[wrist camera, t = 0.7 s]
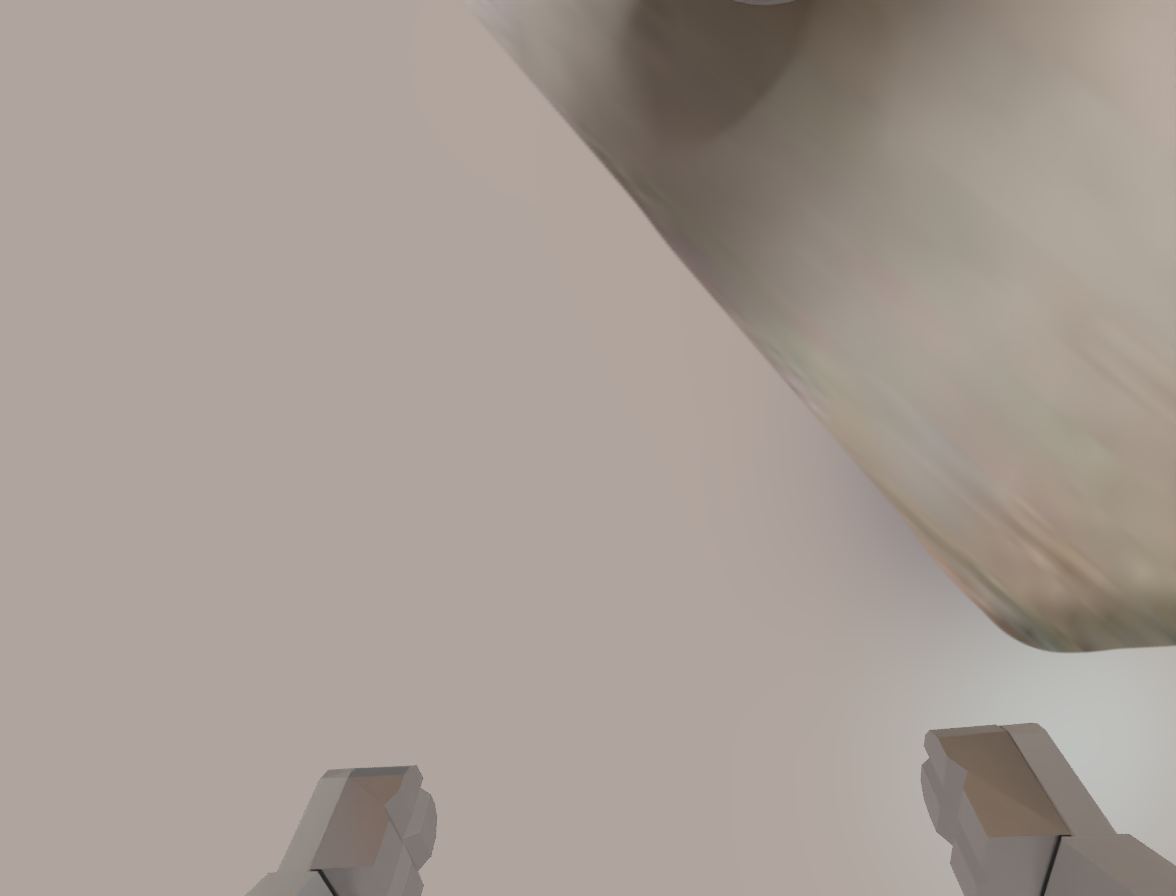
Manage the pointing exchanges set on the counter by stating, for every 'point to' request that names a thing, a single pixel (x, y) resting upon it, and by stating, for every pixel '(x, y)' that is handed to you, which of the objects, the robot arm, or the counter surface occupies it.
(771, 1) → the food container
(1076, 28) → the counter surface
